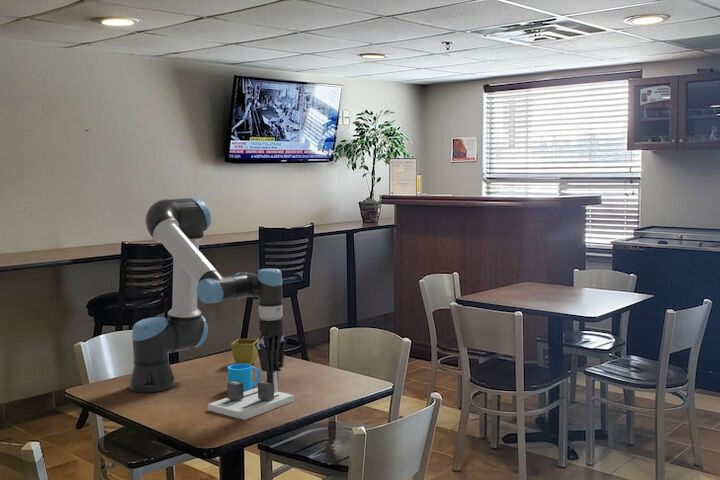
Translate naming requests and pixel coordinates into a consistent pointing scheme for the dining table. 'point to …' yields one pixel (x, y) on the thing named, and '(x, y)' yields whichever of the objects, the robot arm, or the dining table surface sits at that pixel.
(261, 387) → the fader
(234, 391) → the fader
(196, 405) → the dining table surface
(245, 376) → the mug
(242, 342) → the flower pot
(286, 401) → the console
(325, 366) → the dining table surface
